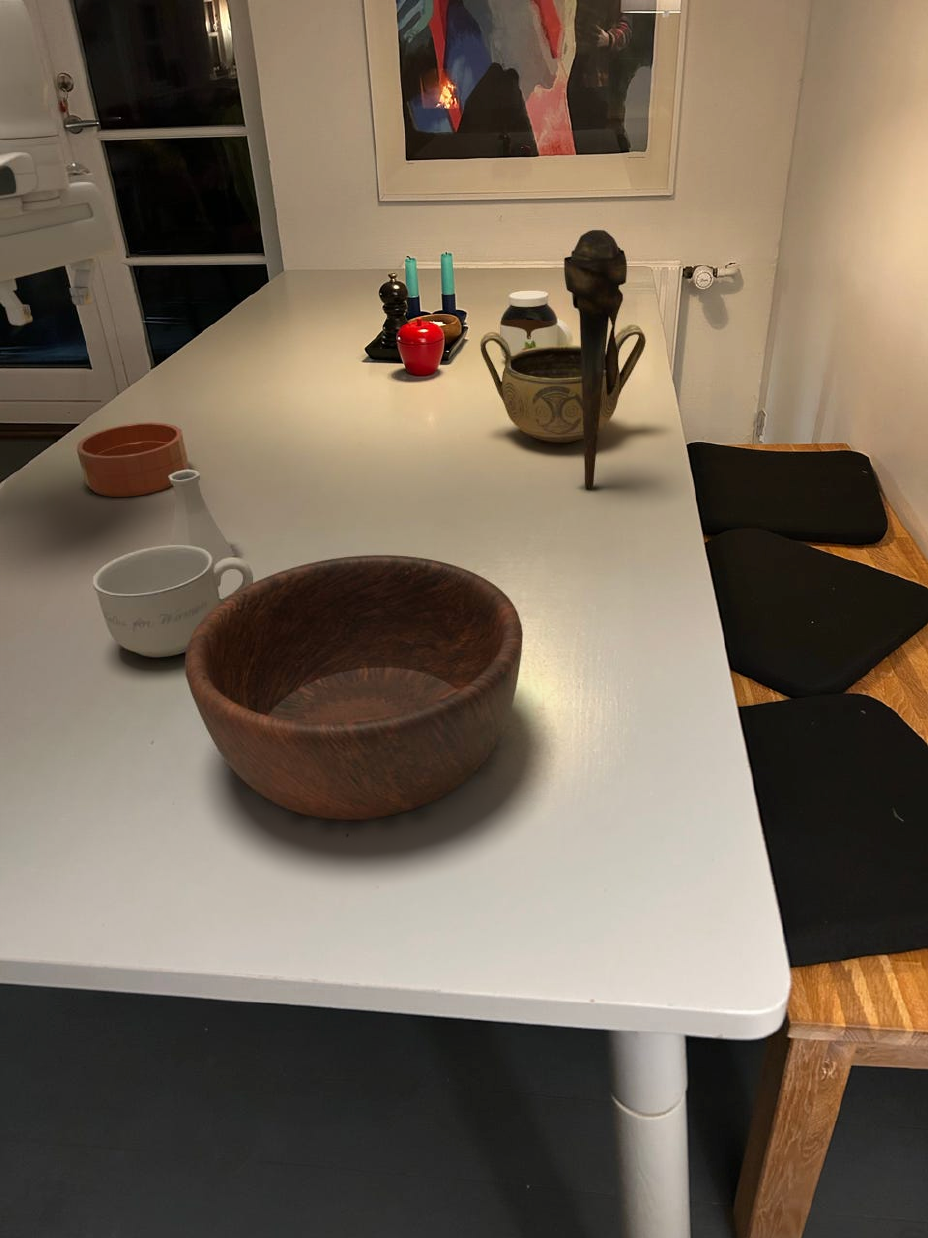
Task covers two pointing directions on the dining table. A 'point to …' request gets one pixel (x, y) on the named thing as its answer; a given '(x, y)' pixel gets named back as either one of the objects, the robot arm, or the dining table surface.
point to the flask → (195, 518)
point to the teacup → (162, 596)
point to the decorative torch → (595, 324)
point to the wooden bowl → (357, 682)
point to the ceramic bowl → (554, 386)
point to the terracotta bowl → (132, 458)
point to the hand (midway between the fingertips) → (54, 313)
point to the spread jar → (532, 323)
